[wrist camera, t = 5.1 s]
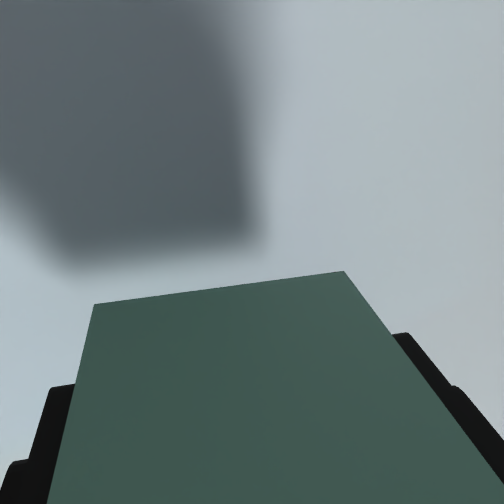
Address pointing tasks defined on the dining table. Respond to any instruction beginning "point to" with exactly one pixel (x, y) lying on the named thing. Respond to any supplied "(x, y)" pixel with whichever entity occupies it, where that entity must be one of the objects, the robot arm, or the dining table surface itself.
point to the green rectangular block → (259, 405)
